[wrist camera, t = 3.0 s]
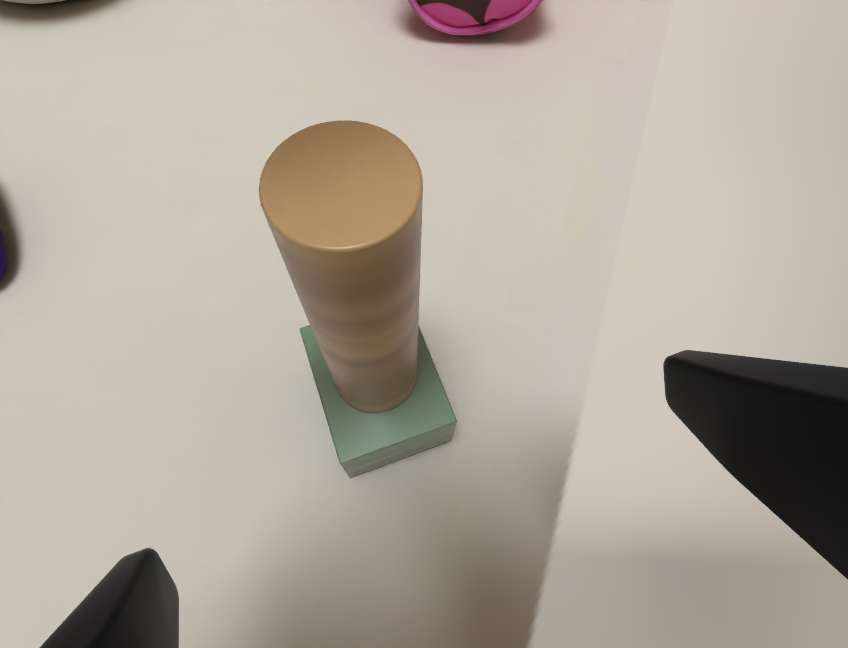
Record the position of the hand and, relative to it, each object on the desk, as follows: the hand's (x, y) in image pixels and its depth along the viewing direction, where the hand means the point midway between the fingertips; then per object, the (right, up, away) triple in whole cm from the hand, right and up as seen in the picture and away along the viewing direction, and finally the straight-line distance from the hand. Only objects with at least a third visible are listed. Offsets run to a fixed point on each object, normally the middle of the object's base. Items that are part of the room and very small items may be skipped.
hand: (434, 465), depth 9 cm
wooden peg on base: (-2, -1, +12) cm, 12 cm away
